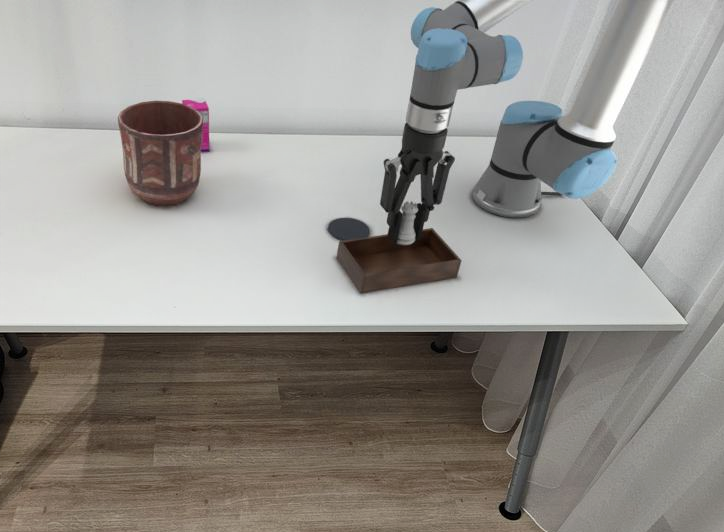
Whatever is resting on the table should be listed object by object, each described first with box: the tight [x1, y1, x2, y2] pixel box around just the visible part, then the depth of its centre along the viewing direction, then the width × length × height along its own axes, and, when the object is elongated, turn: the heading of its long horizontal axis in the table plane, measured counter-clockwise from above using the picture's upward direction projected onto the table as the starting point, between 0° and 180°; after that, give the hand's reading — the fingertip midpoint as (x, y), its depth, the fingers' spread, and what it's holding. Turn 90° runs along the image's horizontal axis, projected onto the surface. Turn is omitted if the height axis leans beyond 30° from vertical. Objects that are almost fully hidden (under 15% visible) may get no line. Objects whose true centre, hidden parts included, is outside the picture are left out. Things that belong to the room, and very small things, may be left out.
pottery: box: [117, 100, 203, 207], centre depth 159 cm, size 18×18×18 cm
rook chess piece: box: [397, 200, 418, 245], centre depth 141 cm, size 4×4×8 cm
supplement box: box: [181, 97, 210, 153], centre depth 179 cm, size 6×6×12 cm
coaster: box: [327, 217, 371, 241], centre depth 157 cm, size 9×9×1 cm
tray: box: [335, 227, 462, 295], centre depth 146 cm, size 21×12×4 cm, turn 108°
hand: (404, 237), depth 143 cm, fingers closed on rook chess piece, 4 cm apart
